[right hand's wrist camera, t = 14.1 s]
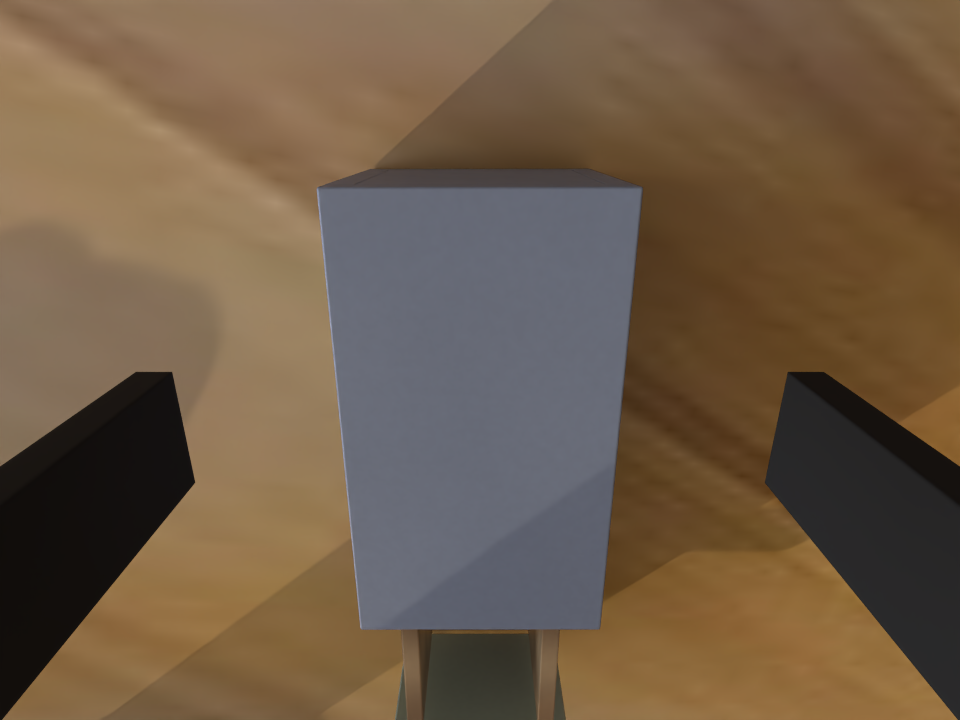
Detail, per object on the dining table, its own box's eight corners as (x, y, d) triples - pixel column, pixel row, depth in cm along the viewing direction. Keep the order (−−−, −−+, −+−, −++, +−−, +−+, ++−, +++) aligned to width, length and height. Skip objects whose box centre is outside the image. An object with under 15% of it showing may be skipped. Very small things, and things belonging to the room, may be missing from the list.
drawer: (548, 708, 38) (564, 835, 31) (412, 708, 38) (397, 835, 31) (567, 404, 30) (592, 484, 23) (393, 404, 30) (367, 485, 23)
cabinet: (569, 499, 33) (600, 630, 25) (391, 500, 33) (360, 630, 25) (590, 168, 27) (644, 186, 18) (369, 168, 27) (315, 187, 18)
